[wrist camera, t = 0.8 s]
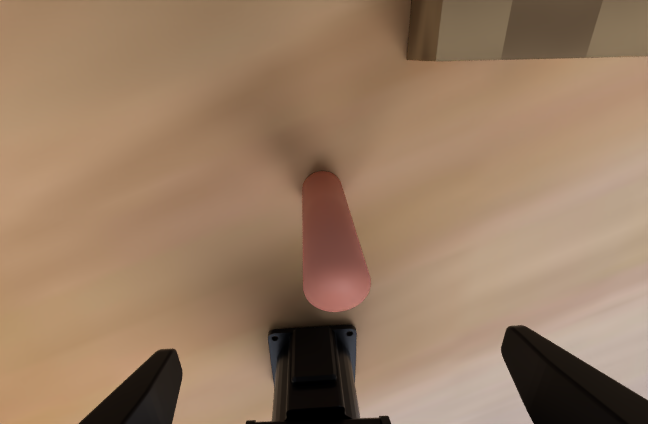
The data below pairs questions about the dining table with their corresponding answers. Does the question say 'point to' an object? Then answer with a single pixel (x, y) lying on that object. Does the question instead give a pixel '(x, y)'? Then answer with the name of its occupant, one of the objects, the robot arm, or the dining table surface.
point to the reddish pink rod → (331, 247)
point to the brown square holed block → (526, 29)
